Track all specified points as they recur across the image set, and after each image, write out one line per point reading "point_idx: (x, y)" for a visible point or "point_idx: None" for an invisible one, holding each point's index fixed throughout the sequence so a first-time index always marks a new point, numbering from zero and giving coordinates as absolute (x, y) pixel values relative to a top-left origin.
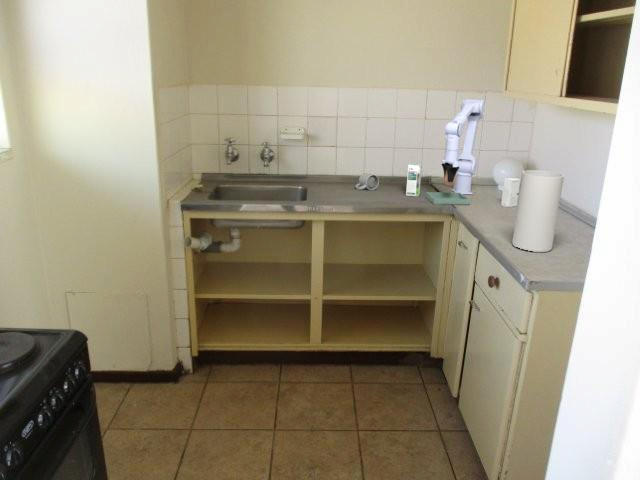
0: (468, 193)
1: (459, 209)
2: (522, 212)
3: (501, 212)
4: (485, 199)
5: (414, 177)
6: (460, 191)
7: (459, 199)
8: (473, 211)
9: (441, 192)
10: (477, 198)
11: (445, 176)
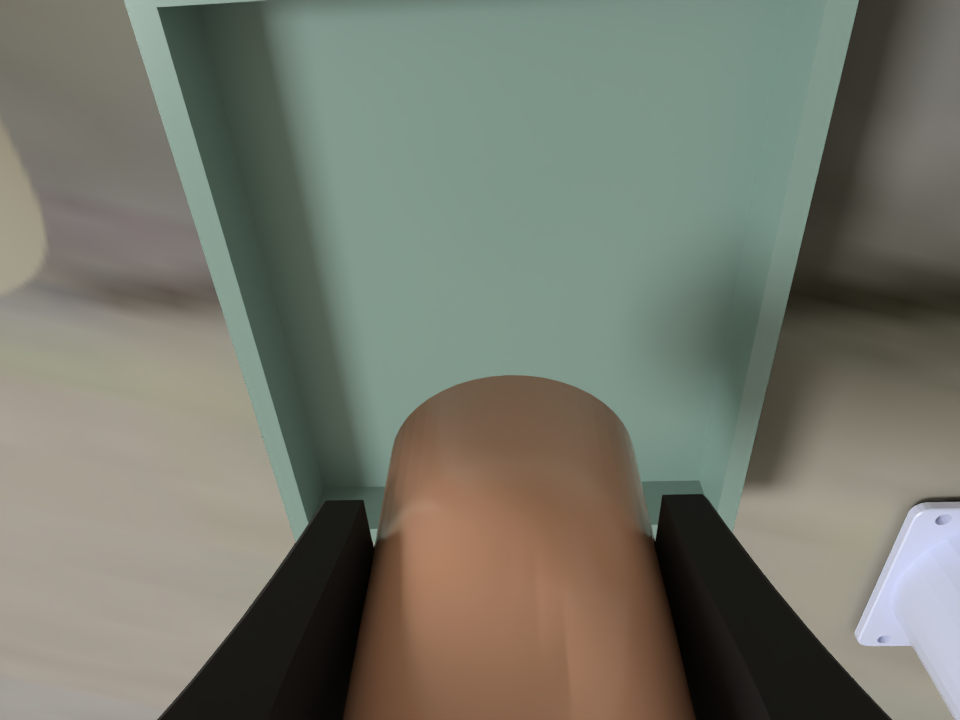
0: (872, 610)
1: (25, 331)
2: None
3: (96, 647)
4: None
5: None
6: (941, 563)
7: (264, 433)
8: (3, 455)
9: (783, 286)
10: None
11: (504, 566)
